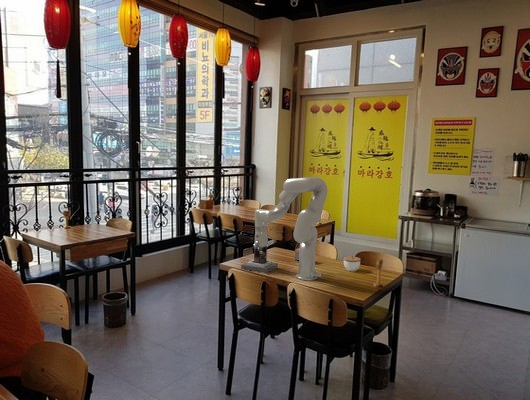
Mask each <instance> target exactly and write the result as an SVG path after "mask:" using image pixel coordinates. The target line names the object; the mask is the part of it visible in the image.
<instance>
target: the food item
mask: <svg viewBox="0 0 530 400" xmlns="http://www.w3.org/2000/svg"><path fill="white" fill-rule="evenodd" d="M299 249H300V247H297V248H296V249H295V250H294V260H295V261H296V260H299Z"/></svg>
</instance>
